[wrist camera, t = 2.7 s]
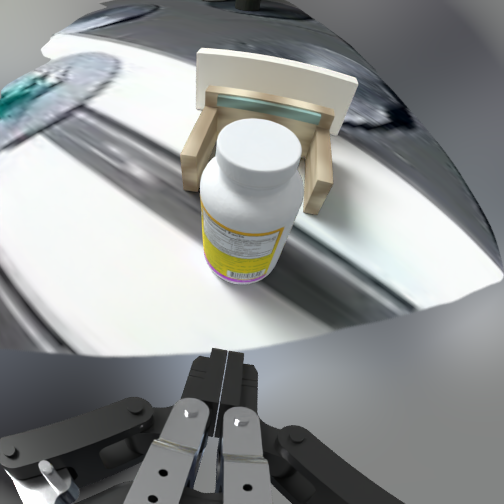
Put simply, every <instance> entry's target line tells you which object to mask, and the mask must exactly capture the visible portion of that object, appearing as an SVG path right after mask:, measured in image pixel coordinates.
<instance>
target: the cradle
mask: <svg viewBox="0 0 504 504" xmlns="http://www.w3.org/2000/svg"><path fill="white" fill-rule="evenodd" d="M334 117H335V114H334V109H331V108H327V107H324V106H320V105H316V104H312V103H308V102H304V101H300V100H296V99H291V98H287V97H282V96H277V95H272V94H267V93H261V92H255V91H249V90H243V89H236V88H229V87H221V86H212V85H209V86H208V87H207V89H206V91H205V107H204V108H203V110H202V112H201V114H200V116H199V118H198V120H197V122H196V124H195V126H194V128H193V130H192V132H191V134H190V136H189V138H188V140H187V142H186V144H185V146H184V148H183V150H182V152H181V154H180V157H181V168H182V179H183V189H184V190H188V191H194V192H198V189H199V186H200V181H201V176H202V173H203V171H204V169H205V167H206V166H207V164H208V161H209V159H210V156H211V153H212V151H213V148H214V145H215V143H216V141H217V138H218V135H219V133H220V132H221V130H222V129H223V128H224V127H226V126H227V125H229V124H230V123H232V122H235V121H238V120H242V119H251V118H255V119H264V120H269V121H272V122H275V123H278V124H280V125H282V126H284V127H286V128H288V129H289V130H290V131H292V132H293V133H294V134H295V135H296V137H297V138H298V139H299V141H300V144H301V147H302V154H301V157H304V158H305V185H304V206H303V212H304V213H309V214H314V215H317V214H318V212H319V211H320V209H321V207H322V205H323V203H324V201H325V199H326V197H327V195H328V193H329V191H330V189H331V187H332V185H333V171H332V155H331V142H330V127H331V125H332V122H333V120H334Z"/></svg>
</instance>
